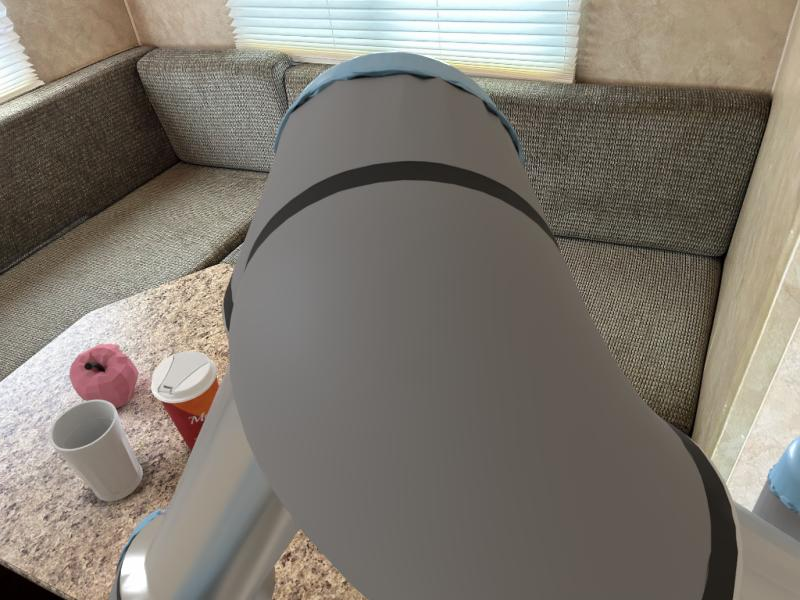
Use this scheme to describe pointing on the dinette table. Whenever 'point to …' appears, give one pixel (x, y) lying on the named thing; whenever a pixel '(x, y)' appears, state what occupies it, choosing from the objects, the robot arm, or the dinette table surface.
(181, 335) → the dinette table surface
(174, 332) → the dinette table surface
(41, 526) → the dinette table surface
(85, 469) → the cup
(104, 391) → the apple
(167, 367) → the coffee cup
